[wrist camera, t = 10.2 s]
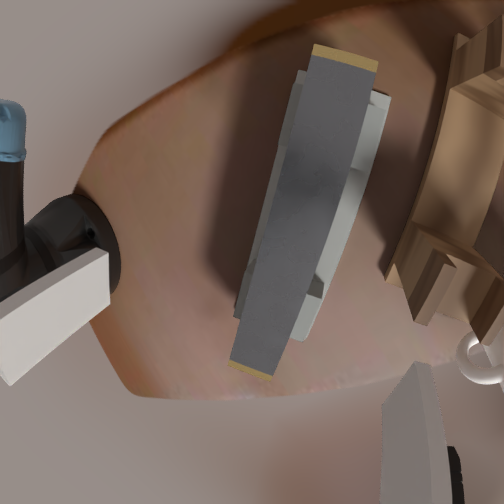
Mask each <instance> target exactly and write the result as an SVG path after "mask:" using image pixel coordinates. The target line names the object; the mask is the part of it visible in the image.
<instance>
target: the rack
mask: <svg viewBox="0 0 504 504" xmlns="http://www.w3.org/2000/svg"><path fill="white" fill-rule="evenodd" d="M503 159H504V15H503V14H502V15H501V16H500V17H498V18H497V19H496V20H494V21H493V22H492V23H491V24H489V25H488V26H487V27H485V28H484V29H483V30H481V31H480V32H479V33H478V34H476V35H475V36H474V37H472V38H471V39H470V38H468V37H466V36H464V35H462V34H460V33H457V34H456V35H455V36H454V42H453V50H452V57H451V63H450V69H449V75H448V81H447V86H446V91H445V96H444V100H443V105H442V109H441V114H440V118H439V122H438V126H437V130H436V134H435V137H434V141H433V145H432V148H431V152H430V155H429V159H428V162H427V165H426V168H425V172H424V175H423V178H422V181H421V184H420V187H419V190H418V193H417V196H416V198H415V201H414V204H413V207H412V210H411V212H410V215H409V218H408V220H407V223H406V225H405V228H404V231H403V233H402V236H401V238H400V240H399V243H398V245H397V248H396V250H395V252H394V255H393V257H392V259H391V262H390V264H389V266H388V268H387V271H386V273H385V275H384V279H385V282H386V283H389V284H392V285H395V286H397V287H400V288H403V289H404V292H405V295H406V298H407V301H408V305H409V308H410V311H411V314H412V318H413V321H414V322H416V323H419V324H422V325H425V326H427V325H428V323H429V322H430V320H431V318H432V317H433V315H434V313H435V311H436V312H439V313H442V314H444V315H447V316H450V317H453V318H456V319H458V320H461V321H464V322H467V323H470V325H471V327H472V329H473V331H474V333H475V335H476V337H477V339H478V341H479V343H480V344H482V345H485V346H488V347H489V346H490V345H491V343H492V342H493V340H494V339H495V337H496V336H497V334H498V333H499V331H500V330H501V328H502V326H503V325H504V279H503V278H502V277H501V276H500V275H499V274H498V273H497V271H496V270H495V269H494V268H493V267H492V266H491V265H490V264H489V263H488V262H487V261H486V260H485V259H484V258H483V257H482V256H481V255H480V254H479V253H478V252H477V251H476V250H475V249H474V248H473V246H474V244H475V241H476V239H477V237H478V234H479V232H480V229H481V227H482V224H483V222H484V219H485V216H486V214H487V211H488V208H489V205H490V202H491V199H492V196H493V193H494V190H495V187H496V184H497V181H498V177H499V174H500V170H501V167H502V163H503Z"/></svg>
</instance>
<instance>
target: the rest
mask: <svg viewBox="0 0 504 504" xmlns="http://www.w3.org/2000/svg"><path fill="white" fill-rule="evenodd" d="M306 74H307V72H306V71H302V70H298V73H297V77H296V81H295V83H293V87H292V91H291V95H290V98H289V102H288V106H287V110H286V114H285V118H284V121H283V125H282V129H281V133H280V137H279V141H278V145H279V146H278V150H277V154H276V157H275V161H274V165H273V169H272V173H271V177H270V180H269V184H268V188H267V192H266V196H265V200H264V203H263V207H262V211H261V215H260V219H259V223H258V227H257V230H256V234H255V238H254V242H253V246H252V250H251V253H250V257H249V261H248V265H247V269H246V271H245V272H244V276H243V280H242V284H241V288H240V291H239V295H238V299H237V303H236V307H235V311H234V315H233V317H235V318H238V319H241V316H242V312H243V308H244V305H245V301H246V298H247V294H248V290H249V287H250V283H251V279H252V276H253V272H254V268H255V265H256V261H257V257H258V254H259V250H260V246H261V243H262V239H263V235H264V232H265V228H266V224H267V221H268V217H269V213H270V209H271V206H272V202H273V198H274V195H275V191H276V187H277V183H278V180H279V176H280V172H281V168H282V165H283V161H284V157H285V153H286V150H287V146H288V142H289V138H290V135H291V131H292V127H293V123H294V120H295V116H296V112H297V108H298V104H299V100H300V97H301V93H302V89H303V85H304V81H305V78H306ZM390 101H391V97H389V96H386V95H384V94H381V93H378V92H375V91H371V95H370V99H369V103H368V107H367V111H366V115H365V118H364V122H363V126H362V129H361V133H360V136H359V140H358V143H357V147H356V150H355V154H354V157H353V160H352V164H351V167H350V170H349V174H348V177H347V180H346V183H345V186H344V190H343V193H342V196H341V199H340V202H339V205H338V208H337V211H336V214H335V217H334V220H333V223H332V226H331V229H330V232H329V235H328V238H327V240H326V243H325V246H324V249H323V252H322V254H321V257H320V260H319V263H318V265H317V268H316V271H315V273H314V276H313V279H312V281H311V284H310V287H309V289H308V292H307V295H306V297H305V300H304V302H303V305H302V307H301V310H300V312H299V315H298V317H297V320H296V322H295V325H294V327H293V330H292V332H291V334H290V337H289V338H292V339H295V340H298V341H300V342H303V341H304V339H306V338H307V336H308V334H309V332H310V329H311V327H312V325H313V323H314V320H315V318H316V316H317V314H318V311H319V309H320V307H321V304H322V302H323V300H324V297H325V295H326V293H327V290H328V288H329V285H330V283H331V280H332V278H333V275H334V273H335V270H336V268H337V265H338V263H339V260H340V258H341V255H342V252H343V250H344V247H345V245H346V242H347V239H348V236H349V234H350V231H351V228H352V225H353V223H354V220H355V217H356V214H357V211H358V208H359V205H360V203H361V200H362V197H363V194H364V191H365V188H366V184H367V181H368V178H369V175H370V172H371V169H372V166H373V162H374V159H375V156H376V152H377V149H378V145H379V142H380V138H381V135H382V131H383V128H384V124H385V120H386V117H387V113H388V109H389V105H390Z"/></svg>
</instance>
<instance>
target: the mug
mask: <svg viewBox="0 0 504 504" xmlns="http://www.w3.org/2000/svg"><path fill="white" fill-rule="evenodd" d="M476 343H479V341H478V339H477V337H476V335H475V333H474V331H471V332H470V333H468V334H467V335H466V336H464V338H463V339H462V340H461V341H460V343H459V344H458V347H457V351H456V361H457V365H458V367H459V369H460V371H461V372H462V373H463V374H464V375H465V376H466V377H467V378H468V379H470V380H471V381H473V382H476V383H481V384H494V383H500V385H501V388H502V390H503V393H504V325H503V326H502V328H501V330H500V331H499V333H498V334H497V336H496V337H495V339H494V340H493V342H492V343H491V345H490V346H489V347H488V346H485V345H483V347H484V349H485V351H486V353H487V355H488V357H489V360H490V362H491V364H492V367H490V368H482V367H479V366H476V365H475V364H473V363H472V362H471V360H470V359H469V356H468V350H469V348H470V347H471V346H472V345H474V344H476Z"/></svg>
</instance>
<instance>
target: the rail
mask: <svg viewBox="0 0 504 504" xmlns="http://www.w3.org/2000/svg"><path fill="white" fill-rule="evenodd" d="M377 66H378V61H375V60H372V59H369V58H366V57H363V56H359V55H356V54H353V53H349V52H345V51H342V50H338V49H334V48H330V47H326V46H322V45H318V44H314V47H313V51H312V54H311V58H310V62H309V66H308V70H307V74H306V78H305V81H304V85H303V89H302V93H301V97H300V100H299V104H298V108H297V112H296V116H295V120H294V123H293V127H292V131H291V135H290V138H289V142H288V146H287V150H286V153H285V157H284V161H283V165H282V168H281V172H280V176H279V180H278V183H277V187H276V191H275V195H274V198H273V202H272V206H271V209H270V213H269V217H268V221H267V224H266V228H265V232H264V235H263V239H262V243H261V246H260V250H259V254H258V257H257V261H256V265H255V268H254V272H253V276H252V279H251V283H250V287H249V290H248V294H247V298H246V301H245V305H244V308H243V312H242V316H241V319H240V323H239V327H238V330H237V334H236V337H235V341H234V345H233V348H232V352H231V355H230V359H229V362H228V366H230V367H233V368H235V369H238V370H240V371H243V372H245V373H248V374H251V375H253V376H256V377H258V378H261V379H264V380H267V381H269V382H270V381H271V379H272V376H273V374H274V372H275V370H276V367H277V365H278V363H279V360H280V358H281V356H282V353H283V351H284V349H285V346H286V344H287V342H288V339H289V337H290V334H291V332H292V330H293V327H294V325H295V322H296V320H297V317H298V315H299V312H300V310H301V307H302V305H303V302H304V300H305V297H306V295H307V292H308V289H309V287H310V284H311V281H312V279H313V276H314V273H315V271H316V268H317V265H318V263H319V260H320V257H321V254H322V252H323V249H324V246H325V243H326V240H327V238H328V235H329V232H330V229H331V226H332V223H333V220H334V217H335V214H336V211H337V208H338V205H339V202H340V199H341V196H342V193H343V190H344V186H345V183H346V180H347V177H348V174H349V170H350V167H351V164H352V160H353V157H354V154H355V150H356V147H357V143H358V140H359V136H360V133H361V129H362V126H363V122H364V118H365V115H366V111H367V107H368V103H369V99H370V95H371V91H372V87H373V83H374V79H375V75H376V71H377Z"/></svg>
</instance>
